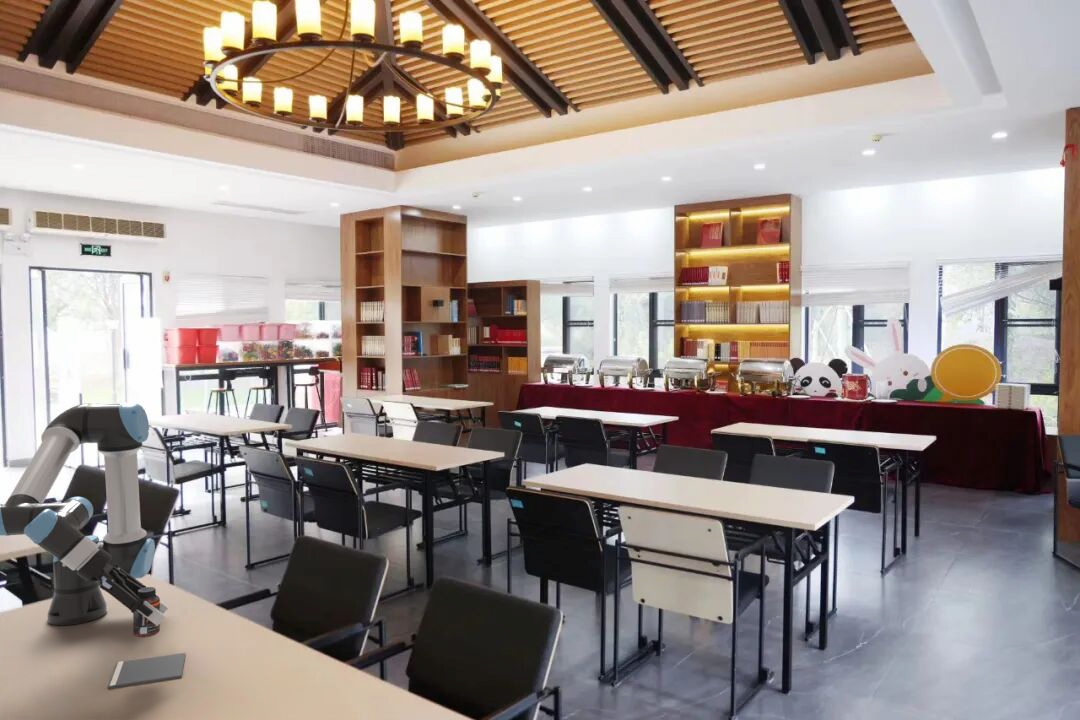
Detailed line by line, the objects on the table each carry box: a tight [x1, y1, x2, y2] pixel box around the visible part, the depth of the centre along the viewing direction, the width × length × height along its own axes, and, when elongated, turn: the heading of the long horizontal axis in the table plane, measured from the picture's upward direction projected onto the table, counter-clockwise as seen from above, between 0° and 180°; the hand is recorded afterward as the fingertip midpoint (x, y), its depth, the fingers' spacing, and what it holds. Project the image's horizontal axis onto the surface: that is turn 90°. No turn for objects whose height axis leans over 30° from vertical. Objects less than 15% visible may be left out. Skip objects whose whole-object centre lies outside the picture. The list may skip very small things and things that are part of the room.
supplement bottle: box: [132, 586, 161, 639], centre depth 187 cm, size 6×6×11 cm
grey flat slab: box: [107, 652, 186, 690], centre depth 188 cm, size 14×16×1 cm
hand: (162, 616), depth 189 cm, fingers closed on supplement bottle, 6 cm apart
